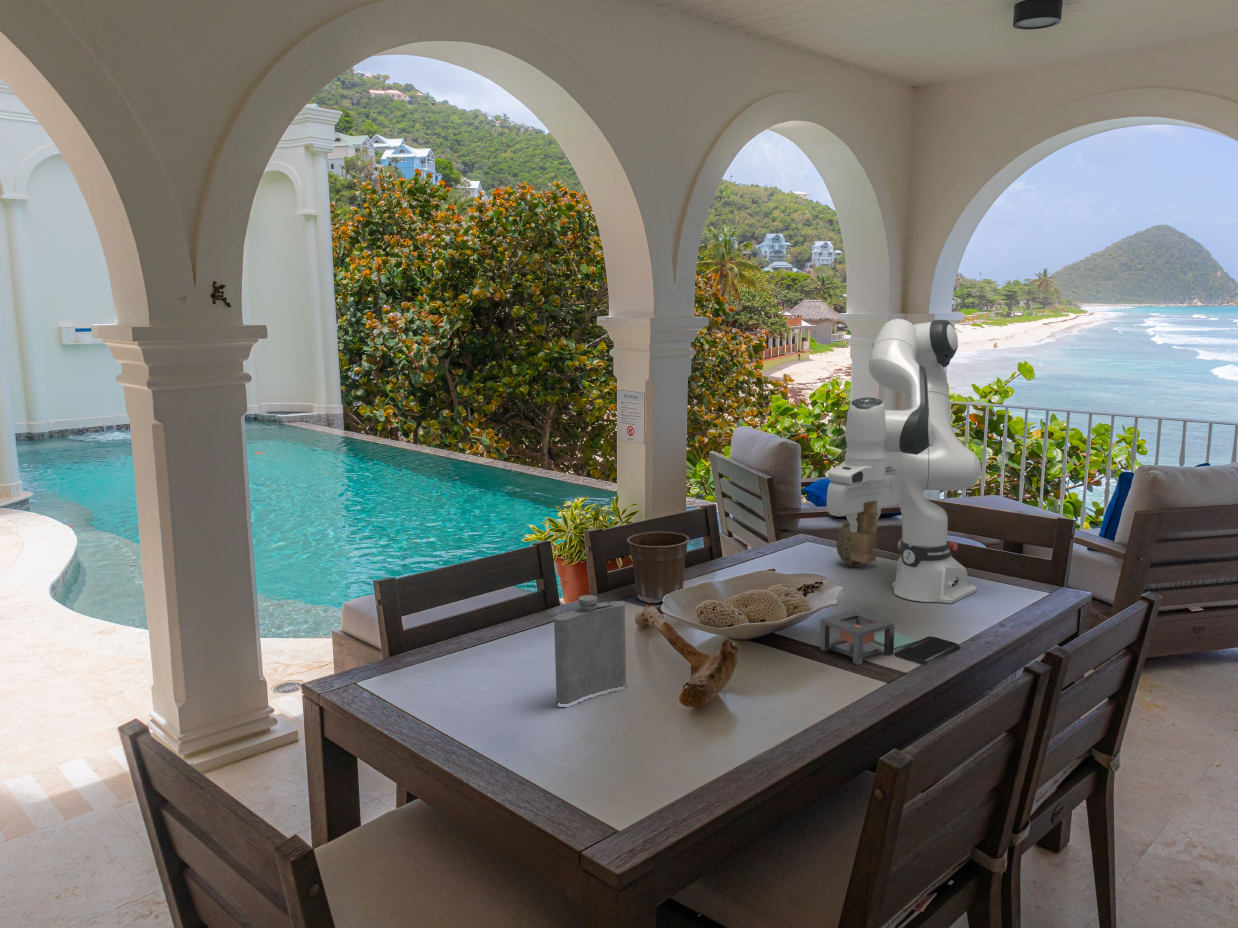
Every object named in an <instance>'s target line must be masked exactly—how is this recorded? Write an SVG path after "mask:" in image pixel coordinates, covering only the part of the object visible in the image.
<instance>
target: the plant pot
mask: <svg viewBox="0 0 1238 928" xmlns="http://www.w3.org/2000/svg"><path fill="white" fill-rule="evenodd" d="M626 540H627V543H628V545H629V551H630V552H629V554H630V556H631V557H632V558H631V559H632V567H633V576H634V582H635V584H634V585H635V593H637V594H638V595H640V596H641V597H647V598H651V599H655V600H662V599H663V597H664V596H665V595H666V594H669V593H671V592H673V591H676V590H680V589H683V590H684V578H685V567H686V566H685V565H686V564H685V563H686V555H687V552H688V544H689V542H690V537H689V536H688V535H686V534H684V533H678V532H674V531H673V532H672V531H649V532H642V533H637V534H636V533H635V534H633V535H630V536H629V537H628V538H627V539H626Z"/></svg>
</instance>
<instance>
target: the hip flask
mask: <svg viewBox="0 0 1238 928" xmlns="http://www.w3.org/2000/svg"><path fill="white" fill-rule="evenodd" d="M597 602H598V596H596V595H592V594H585V595H581V596H579V597H578V603H579V608H577V609H573V610H570V611H567V612H564V613H563V612H562V613H560V614H558V615H555V616H554V617H553V627H554V628H553V629H554V634H553V635H554V657H555V659H554V661H555V666H554V667H555V690H556V693H555V694H556V703H557V702H558V703H560V704H569V703H571V702H573V701H576V700H578V699H580V698H582V697H585V696H588V695H590V694H595V693H598V692H601V691H605V690H608V689H612V688H618V687H623V686H625V685H626V686H627V660H626V659H627V656H626V655H627V651H626V648H627V647H626V607H625V602H624V601H619V600H614V601H609V602H608V601H605V602H598V603H597Z"/></svg>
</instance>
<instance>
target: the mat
mask: <svg viewBox="0 0 1238 928" xmlns="http://www.w3.org/2000/svg"><path fill="white" fill-rule="evenodd" d="M884 635H885V631H883V632H880V633H876V634H874V641H871V643H872V642H873V643H874V644H877V645H880V646H882V647H884ZM917 641H919V639H916V638H913V637H912V636H911V637H910V636H908V635H906V634H905V635H904V634H903V633H899V632H897V631H894V651H897V650H899V649H901V648H903V647H906V646H908V645H910V644H912V643H915V642H917Z"/></svg>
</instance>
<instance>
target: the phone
mask: <svg viewBox="0 0 1238 928" xmlns="http://www.w3.org/2000/svg"><path fill="white" fill-rule="evenodd" d="M918 640H919V639H918ZM958 650H961V645H960V643H957V642H953V641H950V640H947V639H943V638H940V637H936V636H932V635H931V636H930V635H929V636H926V637H924V638H921V639H920V640H919V641H917V642H915V643H912V644H910V645H908V646H906V647H902V648H899V649H896V650H894V657H896V658H898V659H901V660H905V661H909V662H912V663H915V664H918V665H922V666H928V665H930V664H932V663H934V662H936V661H938V660H940V659H942V658H945V657H946V656H948V655H951V654H952V653H955V652H957V651H958Z"/></svg>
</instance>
